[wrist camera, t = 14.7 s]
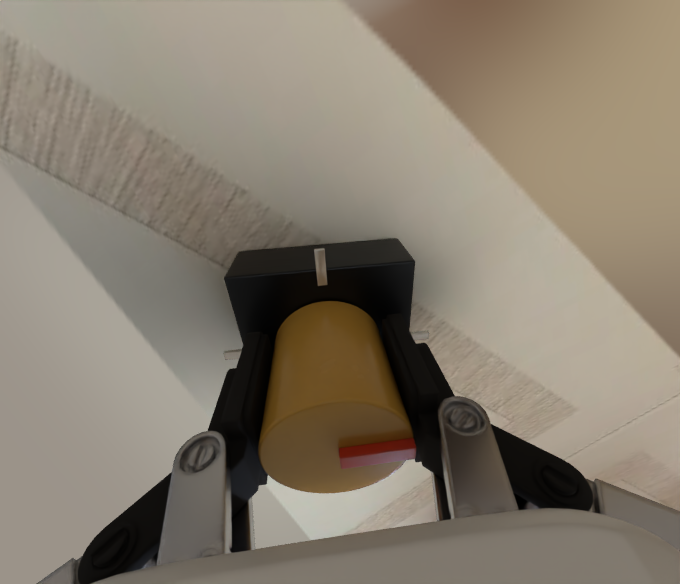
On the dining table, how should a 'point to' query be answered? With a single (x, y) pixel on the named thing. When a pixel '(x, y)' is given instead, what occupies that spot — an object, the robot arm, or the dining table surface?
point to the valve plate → (319, 283)
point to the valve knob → (332, 403)
